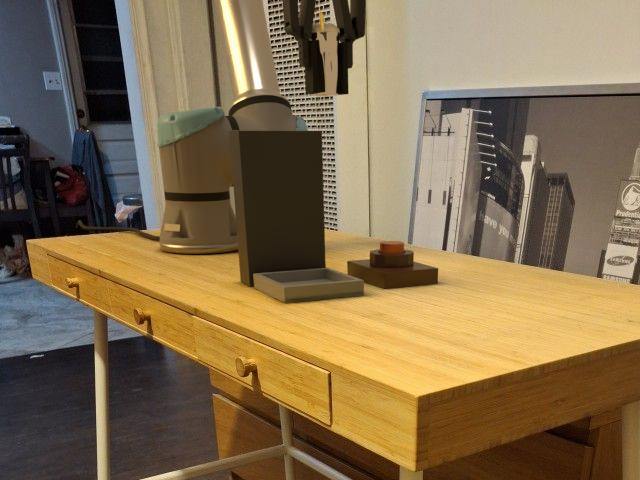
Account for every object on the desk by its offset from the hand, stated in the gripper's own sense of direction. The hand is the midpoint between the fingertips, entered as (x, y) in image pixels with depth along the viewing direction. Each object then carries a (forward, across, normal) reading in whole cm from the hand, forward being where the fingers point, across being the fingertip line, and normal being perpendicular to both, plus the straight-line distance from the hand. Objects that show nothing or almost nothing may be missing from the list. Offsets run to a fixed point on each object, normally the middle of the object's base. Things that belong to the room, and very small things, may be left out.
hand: (327, 93), depth 111 cm
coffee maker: (+25, -11, -13) cm, 30 cm away
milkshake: (0, 0, 0) cm, 0 cm away
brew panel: (+25, +4, -12) cm, 28 cm away
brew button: (+21, +4, -13) cm, 25 cm away
